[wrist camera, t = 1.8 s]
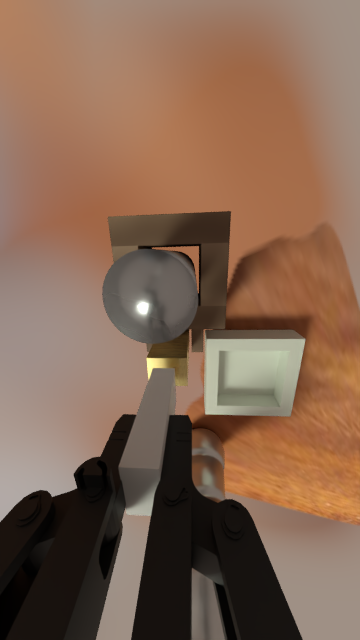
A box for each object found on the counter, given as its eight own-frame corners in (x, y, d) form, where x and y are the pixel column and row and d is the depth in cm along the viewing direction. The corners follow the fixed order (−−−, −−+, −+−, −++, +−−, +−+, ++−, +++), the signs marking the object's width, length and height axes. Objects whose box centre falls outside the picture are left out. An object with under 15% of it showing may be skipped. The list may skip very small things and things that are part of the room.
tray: (205, 330, 25) (206, 339, 23) (293, 329, 25) (305, 339, 22) (204, 399, 29) (205, 414, 26) (281, 400, 28) (290, 416, 25)
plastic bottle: (225, 448, 32) (274, 736, 13) (185, 455, 33) (176, 729, 14) (216, 418, 30) (257, 703, 11) (174, 426, 31) (145, 699, 12)
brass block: (162, 322, 22) (146, 358, 15) (188, 321, 22) (186, 358, 14) (163, 341, 23) (149, 385, 15) (189, 341, 23) (187, 385, 15)
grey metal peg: (156, 251, 23) (95, 250, 8) (194, 250, 22) (198, 247, 8) (158, 289, 24) (109, 343, 10) (194, 289, 24) (198, 343, 10)
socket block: (129, 226, 22) (107, 216, 16) (220, 222, 21) (230, 211, 15) (140, 333, 26) (126, 356, 20) (216, 333, 25) (223, 356, 20)
